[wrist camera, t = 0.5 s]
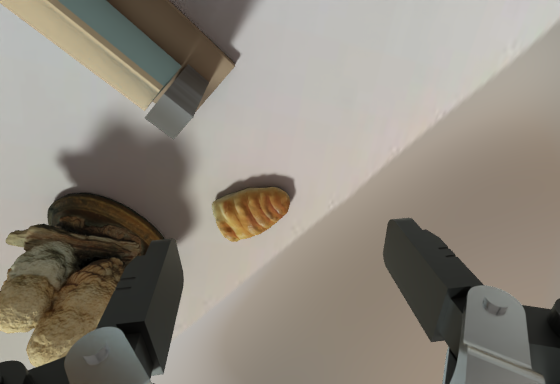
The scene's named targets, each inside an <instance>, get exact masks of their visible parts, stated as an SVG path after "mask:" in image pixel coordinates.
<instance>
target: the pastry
mask: <svg viewBox="0 0 560 384" xmlns="http://www.w3.org/2000/svg"><path fill="white" fill-rule="evenodd" d="M289 205H290V198H289V196H288V194H287V193H286V192H285V191H283V190H282V189H280V188H278V187H268V188H267V187H266V188H252V187H249V188H246V189H245V190H241V191H238V192H235V193H231V194H228V195H226V196H223V197H221V198H220V199H217V200H216V201H214V202H213V204H212V210H213V215H214V217H215V219H216V223H217V226H218V228H219V230H220V231H221V233H222V235H223V236H224V237H225V238H227V239H228V240H230V241H232V242H234V241H236V242H237V241H238V240H240V239H246V238H250V237H252V236H255V235H258V234H261V233H262V232H264V231H265V230H267V229H269V228H270V227H271V226H272V225H274V224H275V223H277V221H278V220H279V219H281V218H282V217H283V216H284V215H285V214H286V213H287V212H288V209H289Z"/></svg>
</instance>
